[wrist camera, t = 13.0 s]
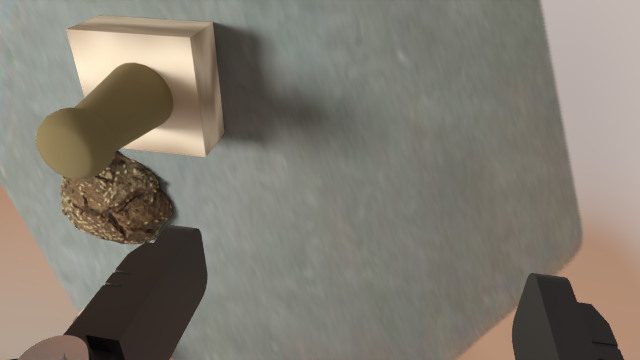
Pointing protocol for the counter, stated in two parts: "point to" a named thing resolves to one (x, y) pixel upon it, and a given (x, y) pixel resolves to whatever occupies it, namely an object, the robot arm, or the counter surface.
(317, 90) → the counter surface
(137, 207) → the bread roll
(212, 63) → the ash block
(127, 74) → the olive knobbed peg
